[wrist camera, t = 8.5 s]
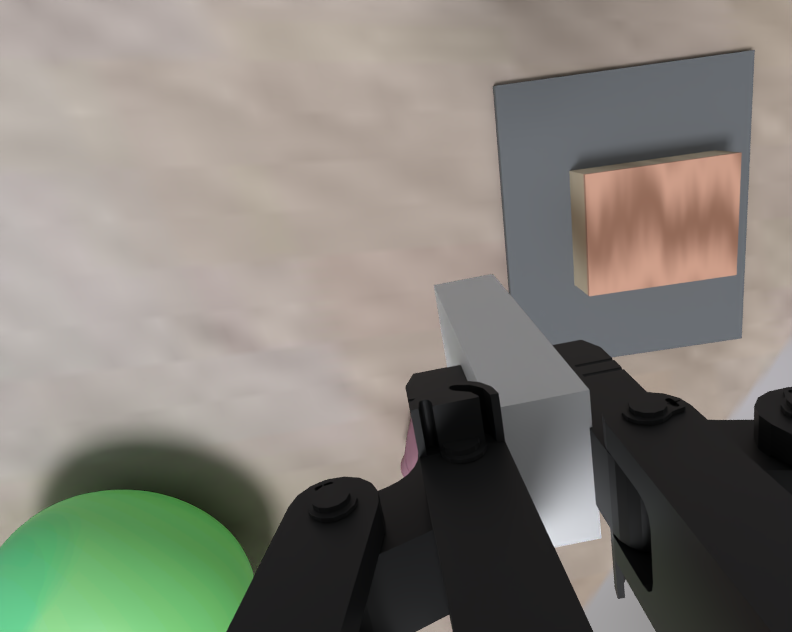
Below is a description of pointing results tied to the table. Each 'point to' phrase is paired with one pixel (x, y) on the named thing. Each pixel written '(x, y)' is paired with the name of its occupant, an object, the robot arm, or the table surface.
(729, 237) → the oak tile
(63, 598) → the toy bird
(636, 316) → the rubber mat
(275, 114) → the table surface
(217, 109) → the table surface
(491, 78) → the table surface
